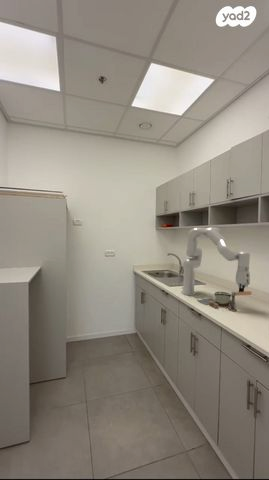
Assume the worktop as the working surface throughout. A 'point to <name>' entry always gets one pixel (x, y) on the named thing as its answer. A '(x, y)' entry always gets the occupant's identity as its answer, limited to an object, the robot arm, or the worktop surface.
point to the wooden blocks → (225, 306)
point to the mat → (206, 301)
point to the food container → (222, 298)
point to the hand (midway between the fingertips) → (241, 293)
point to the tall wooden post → (241, 293)
